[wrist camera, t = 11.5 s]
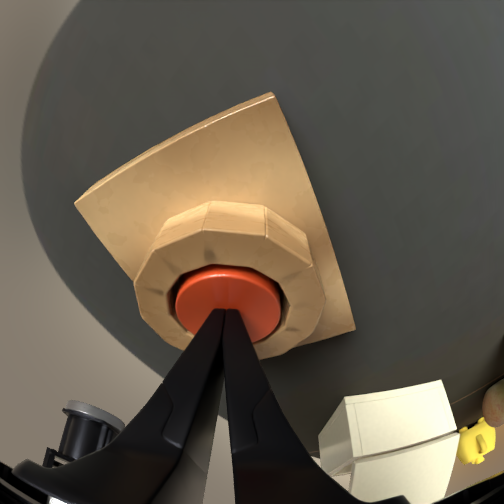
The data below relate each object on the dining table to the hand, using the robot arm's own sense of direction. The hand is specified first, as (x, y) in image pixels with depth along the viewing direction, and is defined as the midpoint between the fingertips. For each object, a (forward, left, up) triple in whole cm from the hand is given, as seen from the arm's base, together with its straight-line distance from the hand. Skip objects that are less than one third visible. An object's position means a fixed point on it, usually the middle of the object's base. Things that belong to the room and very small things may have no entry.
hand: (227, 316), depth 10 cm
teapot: (+52, -50, -4) cm, 72 cm away
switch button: (0, 0, -2) cm, 2 cm away
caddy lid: (+14, -19, +7) cm, 25 cm away
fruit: (+36, -23, -4) cm, 43 cm away
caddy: (+14, -21, -4) cm, 25 cm away
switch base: (0, 0, -4) cm, 4 cm away
